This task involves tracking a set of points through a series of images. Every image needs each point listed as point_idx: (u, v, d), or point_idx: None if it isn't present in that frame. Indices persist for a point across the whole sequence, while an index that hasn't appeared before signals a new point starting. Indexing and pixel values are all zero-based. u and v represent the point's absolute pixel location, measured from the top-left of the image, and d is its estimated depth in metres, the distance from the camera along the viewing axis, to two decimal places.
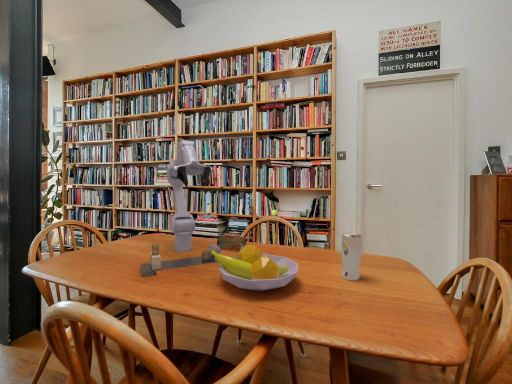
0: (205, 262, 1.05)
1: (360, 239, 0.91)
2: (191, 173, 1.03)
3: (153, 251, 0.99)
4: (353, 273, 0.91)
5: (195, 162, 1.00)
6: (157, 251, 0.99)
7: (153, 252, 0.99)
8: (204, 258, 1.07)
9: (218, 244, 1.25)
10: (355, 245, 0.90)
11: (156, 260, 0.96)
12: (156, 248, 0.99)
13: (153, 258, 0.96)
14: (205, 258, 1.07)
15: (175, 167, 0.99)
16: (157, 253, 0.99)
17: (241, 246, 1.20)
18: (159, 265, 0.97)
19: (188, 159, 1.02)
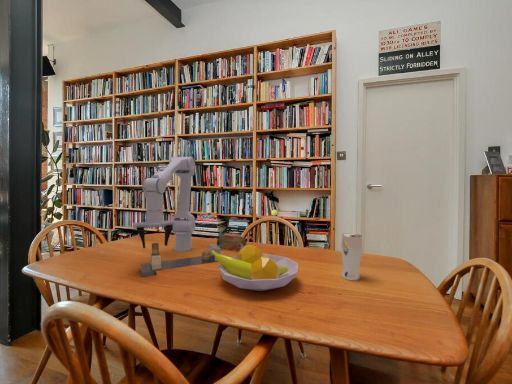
0: (205, 262, 1.05)
1: (360, 239, 0.91)
2: None
3: (153, 251, 0.99)
4: (353, 273, 0.91)
5: None
6: (157, 251, 0.99)
7: (153, 252, 0.99)
8: (204, 258, 1.07)
9: (218, 244, 1.25)
10: (355, 245, 0.90)
11: (156, 260, 0.96)
12: (156, 248, 0.99)
13: (153, 258, 0.96)
14: (205, 258, 1.07)
15: (134, 226, 0.95)
16: (157, 253, 0.99)
17: (241, 246, 1.20)
18: (159, 265, 0.97)
19: (150, 216, 0.96)
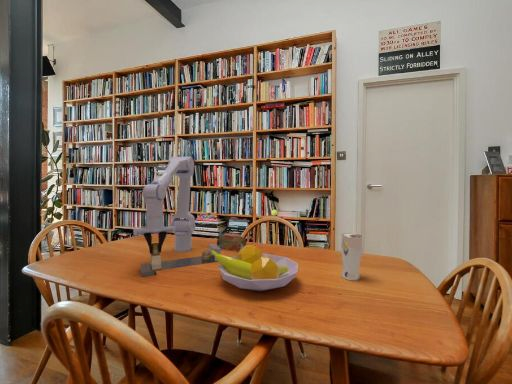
0: (205, 262, 1.05)
1: (360, 239, 0.91)
2: None
3: (153, 251, 0.99)
4: (353, 273, 0.91)
5: (156, 231, 0.96)
6: (157, 251, 0.99)
7: (153, 252, 0.99)
8: (204, 258, 1.07)
9: (218, 244, 1.25)
10: (355, 245, 0.90)
11: (156, 260, 0.96)
12: (156, 248, 0.99)
13: (153, 258, 0.96)
14: (205, 258, 1.07)
15: (135, 232, 0.96)
16: (157, 253, 0.99)
17: (241, 246, 1.20)
18: (159, 265, 0.97)
19: (150, 222, 0.96)
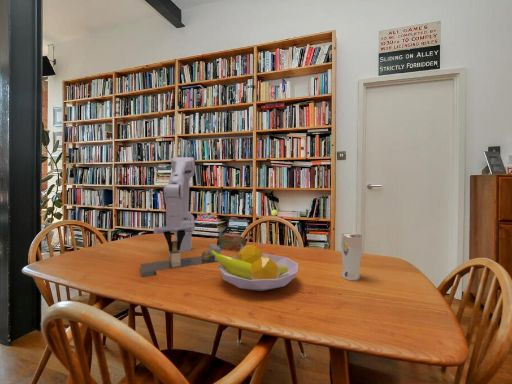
0: (205, 262, 1.05)
1: (360, 239, 0.91)
2: None
3: (172, 249, 1.02)
4: (353, 273, 0.91)
5: (176, 230, 1.00)
6: (176, 249, 1.02)
7: (172, 250, 1.02)
8: (204, 258, 1.07)
9: (218, 244, 1.25)
10: (355, 245, 0.90)
11: (176, 257, 0.99)
12: (175, 246, 1.02)
13: (173, 256, 0.99)
14: (205, 258, 1.07)
15: (155, 230, 0.99)
16: (176, 251, 1.02)
17: (241, 246, 1.20)
18: (179, 262, 1.00)
19: (170, 221, 1.00)
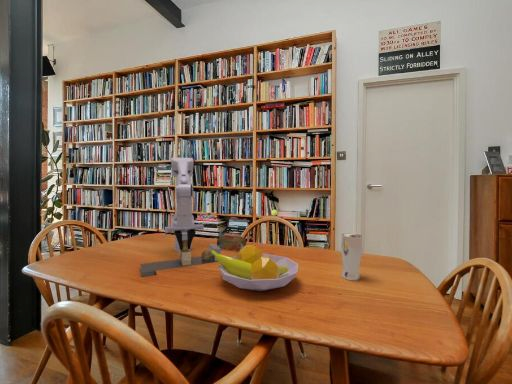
0: (205, 262, 1.05)
1: (360, 239, 0.91)
2: None
3: (182, 247, 1.04)
4: (353, 273, 0.91)
5: (187, 229, 1.01)
6: (187, 248, 1.04)
7: (183, 249, 1.04)
8: (204, 258, 1.07)
9: (218, 244, 1.25)
10: (355, 245, 0.90)
11: (186, 256, 1.01)
12: (186, 245, 1.04)
13: (184, 254, 1.01)
14: (205, 258, 1.07)
15: (166, 230, 1.00)
16: (187, 250, 1.04)
17: (241, 246, 1.20)
18: (189, 261, 1.02)
19: (181, 220, 1.01)
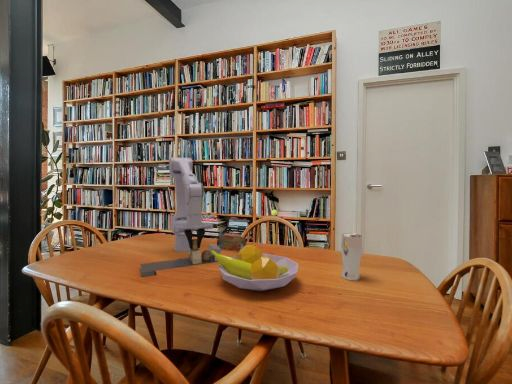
0: (205, 262, 1.05)
1: (360, 239, 0.91)
2: None
3: (192, 246, 1.05)
4: (353, 273, 0.91)
5: None
6: (196, 247, 1.06)
7: (193, 247, 1.05)
8: (204, 258, 1.07)
9: (218, 244, 1.25)
10: (355, 245, 0.90)
11: (197, 255, 1.03)
12: (196, 244, 1.05)
13: (194, 253, 1.02)
14: (205, 258, 1.07)
15: (177, 229, 1.02)
16: (196, 248, 1.06)
17: (241, 246, 1.20)
18: (199, 260, 1.03)
19: (191, 220, 1.03)
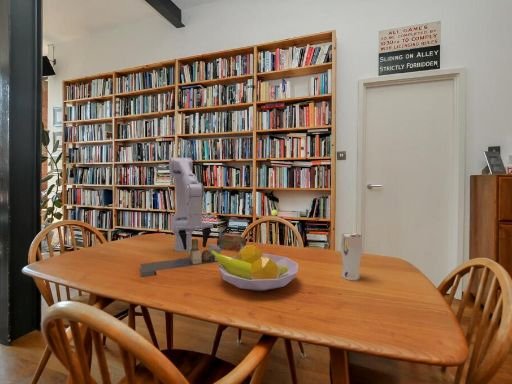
0: (205, 262, 1.05)
1: (360, 239, 0.91)
2: None
3: (193, 246, 1.05)
4: (353, 273, 0.91)
5: (197, 228, 1.03)
6: (197, 247, 1.06)
7: (193, 247, 1.05)
8: (204, 258, 1.07)
9: (218, 244, 1.25)
10: (355, 245, 0.90)
11: (197, 255, 1.03)
12: (196, 244, 1.05)
13: (194, 253, 1.03)
14: (205, 258, 1.07)
15: (177, 229, 1.02)
16: (197, 248, 1.06)
17: (241, 246, 1.20)
18: (199, 260, 1.04)
19: (191, 219, 1.03)
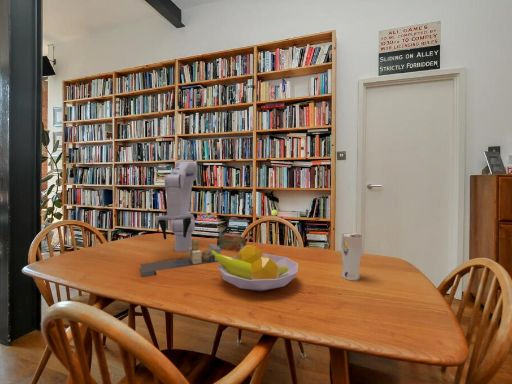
0: (205, 262, 1.05)
1: (360, 239, 0.91)
2: None
3: (193, 246, 1.05)
4: (353, 273, 0.91)
5: (176, 218, 1.04)
6: (197, 247, 1.06)
7: (193, 247, 1.05)
8: (204, 258, 1.07)
9: (218, 244, 1.25)
10: (355, 245, 0.90)
11: (197, 255, 1.03)
12: (196, 244, 1.05)
13: (194, 253, 1.03)
14: (205, 258, 1.07)
15: (157, 218, 1.03)
16: (197, 248, 1.06)
17: (241, 246, 1.20)
18: (199, 260, 1.04)
19: (171, 209, 1.04)
